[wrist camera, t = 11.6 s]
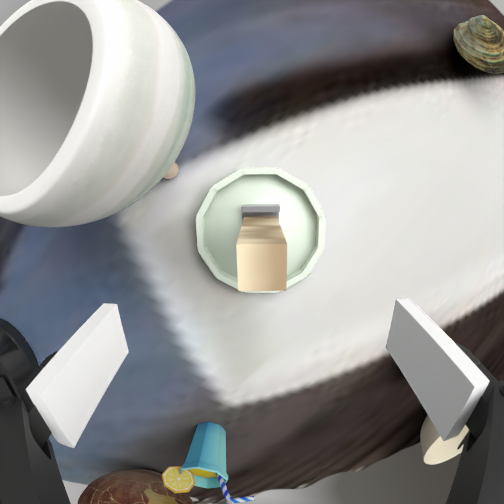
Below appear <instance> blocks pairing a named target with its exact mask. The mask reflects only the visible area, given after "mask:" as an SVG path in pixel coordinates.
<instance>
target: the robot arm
mask: <svg viewBox="0 0 504 504" xmlns="http://www.w3.org/2000/svg"><path fill="white" fill-rule="evenodd" d="M386 348H387V350H388V351H389V353H390V354H391V356H392V358H393V359H394V361H395V362H396V364H397V365H398V367H399V368H400V370H401V372H402V373H403V375H404V376H405V378H406V379H407V381H408V383H409V384H410V386H411V387H412V389H413V391H414V392H415V394H416V396H417V397H418V399H419V401H420V402H421V404H422V406H423V407H424V409H425V411H426V412H427V414H428V416H429V417H430V419H431V421H432V422H433V424H434V426H435V428H436V429H437V431H438V433H439V435H440V436H441V438H442V440H443V441H446V440H449V439H451V438H454V437H456V436H458V435H459V434H460V432H461V431H462V429H463V428H464V426H465V425H466V426H467V428H468V429H469V431H468V432H467V434H466V435H465V437H464V438H463V440H462V441H461V443H460V444H459V446H458V448H457V449H460V448H461V446H462V445H463V444H464V445H463V449H462V453H461V457H460V461H459V465H458V468H457V472H456V475H455V478H454V482H453V485H452V488H451V491H450V494H449V496H448V499H447V502H446V504H504V380H503V381H499V382H498V381H497V380H496V378H495V377H494V376H493V375H492V374H491V373H490V372H489V371H488V370H487V369H486V368H485V366H484V365H483V364H482V363H480V361H479V360H478V359H477V358H476V357H474V355H473V354H472V353H471V352H470V351H469V350H468V349H467V348H465V347H464V346H462V345H460V344H455V343H454V342H453V341H452V340H451V339H450V338H449V337H448V336H447V334H446V333H445V332H444V331H443V330H442V329H441V328H440V327H439V326H438V325H437V324H436V323H435V322H434V321H433V320H432V319H431V318H430V317H428V316H427V315H426V314H425V313H424V312H423V311H422V310H421V309H420V308H419V307H418V306H417V305H416V304H415V303H414V302H413V301H412V300H411V299H410V298H403V299H396V302H395V307H394V312H393V317H392V322H391V327H390V331H389V336H388V340H387V344H386ZM128 352H129V351H128V347H127V344H126V340H125V336H124V332H123V328H122V324H121V320H120V315H119V311H118V306H117V304H106V303H104V304H103V305H102V306H101V307H100V308H99V309H98V310H97V311H96V312H95V313H94V314H93V315H92V316H91V317H90V318H89V319H88V320H87V321H86V322H85V323H84V324H83V325H82V326H81V327H80V328H79V330H78V331H77V332H76V333H75V334H74V335H73V336H72V337H71V338H70V339H69V340H68V341H67V342H66V344H65V345H64V346H63V347H62V348H61V349H60V350H59V351H58V352H57V351H56V352H54V353H53V354H51V355H50V356H48V357H47V358H46V359H45V360H44V361H43V362H42V363H41V364H40V366H38V363H37V360H36V358H35V355H34V353H33V351H32V350H31V348H30V346H29V345H28V343H27V342H26V340H25V339H24V338H23V336H22V335H21V334H20V333H19V332H18V331H17V330H16V329H15V328H14V327H13V326H12V325H11V324H10V323H8V322H7V321H5V320H3V319H0V504H71V503H70V501H69V498H68V495H67V493H66V490H65V487H64V484H63V481H62V478H61V475H60V472H59V469H58V465H57V462H56V459H55V455H54V451H53V447H52V444H51V442H50V440H49V439H48V438H49V436H50V435H51V433H52V434H53V436H54V437H55V438H56V440H57V441H58V443H61V444H64V445H66V446H69V447H72V448H74V447H75V445H76V443H77V441H78V440H79V438H80V436H81V434H82V432H83V430H84V428H85V427H86V425H87V423H88V421H89V419H90V417H91V416H92V414H93V412H94V410H95V408H96V407H97V405H98V403H99V401H100V400H101V398H102V396H103V394H104V393H105V391H106V389H107V387H108V386H109V384H110V382H111V381H112V379H113V377H114V376H115V374H116V372H117V370H118V369H119V367H120V365H121V364H122V362H123V360H124V359H125V357H126V355H127V354H128Z"/></svg>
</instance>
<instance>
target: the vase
mask: <svg viewBox="0 0 504 504" xmlns="http://www.w3.org/2000/svg"><path fill="white" fill-rule="evenodd" d="M78 504H194V503H193V501H192V500H191V499H190V497H189V496H188V495H187V494H186V493H185V492H184V493H174V492H173V491H171V490H169V489H168V488H166V487H165V486H164V483H163V479H162V474H160V473H158V472H155V471H151V470H145V469H131V470H122V471H116V472H113V473H109V474H107V475H104V476H102V477H100V478H98V479H96V480H95V481H93V482H92V483H90V484H89V485H88V486H87V488H86V489H85V490H84V491H83V493H82V494H81V496H80V498H79V500H78Z"/></svg>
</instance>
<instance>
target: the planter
mask: <svg viewBox="0 0 504 504" xmlns="http://www.w3.org/2000/svg"><path fill="white" fill-rule="evenodd" d="M194 106H195V81H194V74H193V69H192V65H191V62H190V59H189V56H188V54H187V51H186V49H185V47H184V45H183V43H182V41H181V40H180V38H179V37H178V35H177V34H176V32H175V31H174V30H173V29H172V27H171V26H170V25H169V24H168V23H167V22H166V21H165V20H164V19H163V18H162V17H161V16H160V15H159V14H157V13H156V12H155V11H154V10H152V9H151V8H149V7H148V6H146V5H145V4H143V3H141V2H140V1H138V0H31V1H30V2H28V3H27V4H25V5H24V6H22V7H21V8H20V9H18V10H17V11H16V12H15V13H14V14H13V15H12V16H10V17H9V18H8V19H7V20H6V21H5V22H4V23H3V25H2V26H1V27H0V216H1V217H3V218H6V219H8V220H11V221H14V222H18V223H22V224H26V225H32V226H40V227H67V226H76V225H81V224H86V223H91V222H94V221H97V220H101V219H103V218H106V217H109V216H111V215H113V214H116V213H118V212H120V211H122V210H123V209H125V208H127V207H129V206H130V205H132V204H133V203H135V202H136V201H138V200H139V199H141V198H142V197H143V196H144V195H145V194H147V193H148V192H149V191H150V190H151V189H152V188H153V187H154V186H155V185H156V184H157V183H158V182H159V181H160V180H161V179H162V178H166V179H173V178H174V177H176V176H177V174H178V172H179V168H178V165H177V164H176V163H175V160H176V158H177V157H178V155H179V153H180V151H181V149H182V147H183V145H184V143H185V140H186V138H187V135H188V132H189V130H190V126H191V122H192V118H193V113H194Z"/></svg>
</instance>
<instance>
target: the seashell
mask: <svg viewBox="0 0 504 504" xmlns="http://www.w3.org/2000/svg"><path fill="white" fill-rule="evenodd" d="M453 40H454V43H455V46H456V48H457V50H458V52H459V53H460V55H461V56H462V57H463V58H464V59H465V60H466V61H467V62H468V63H470V64H471V65H472V66H474V67H476V68H477V69H479V70H482V71H484V72H488V73H493V74H499V73H503V72H504V31H503V30H502V28H501V27H499V26H498V25H497V24H496V23H494V22H493V21H491V20H490V19H488V18H487V17H485V16H484V15H481V16H477V17H473V18H471V19H470V21H466V22H464V23H461V24H459V25H458V26H457V27H455V28H454V34H453Z"/></svg>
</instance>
